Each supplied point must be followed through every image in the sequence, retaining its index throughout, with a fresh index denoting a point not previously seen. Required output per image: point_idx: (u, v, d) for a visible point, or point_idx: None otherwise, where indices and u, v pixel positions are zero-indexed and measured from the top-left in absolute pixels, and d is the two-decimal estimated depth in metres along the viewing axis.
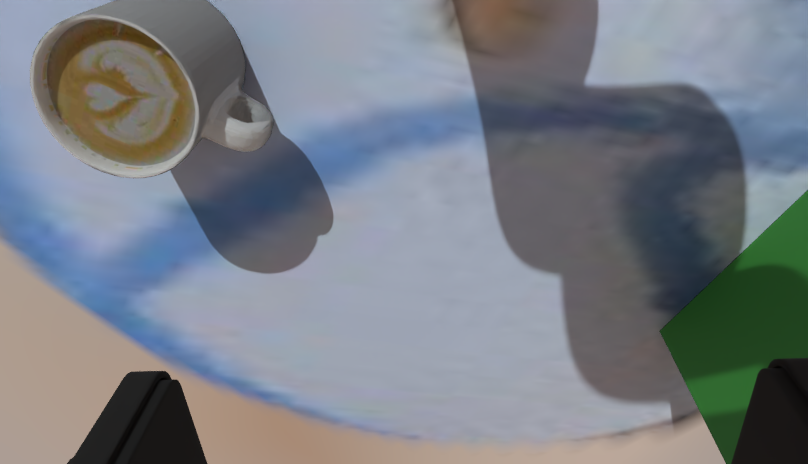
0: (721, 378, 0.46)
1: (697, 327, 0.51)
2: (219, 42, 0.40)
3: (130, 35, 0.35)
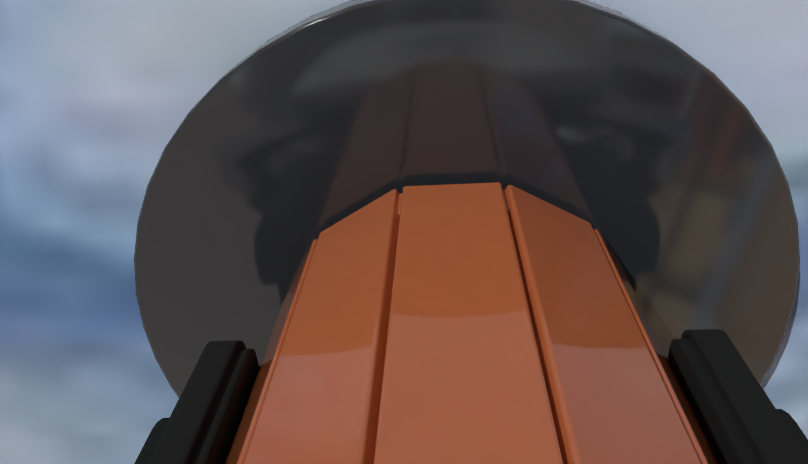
0: None
1: None
2: None
3: None
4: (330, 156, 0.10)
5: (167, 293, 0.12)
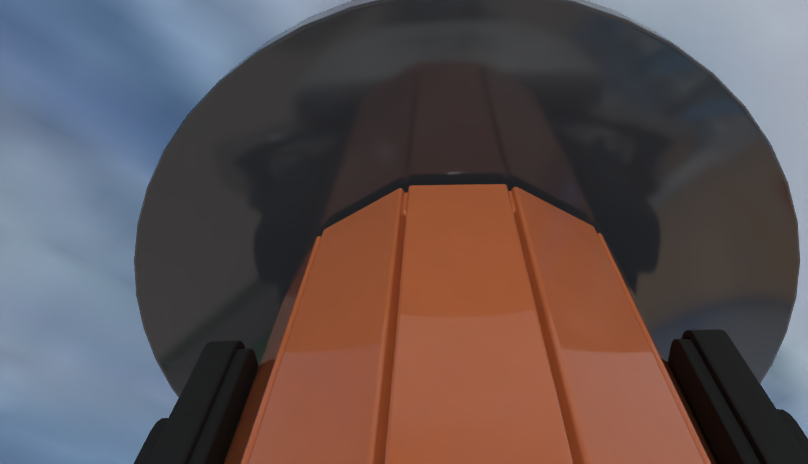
0: None
1: None
2: None
3: None
4: (492, 123, 0.10)
5: (222, 136, 0.10)
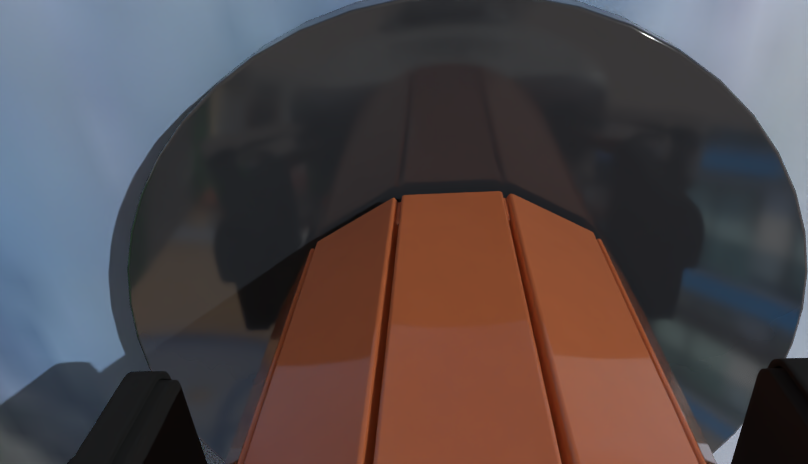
0: None
1: None
2: None
3: None
4: (674, 245, 0.11)
5: (521, 43, 0.09)
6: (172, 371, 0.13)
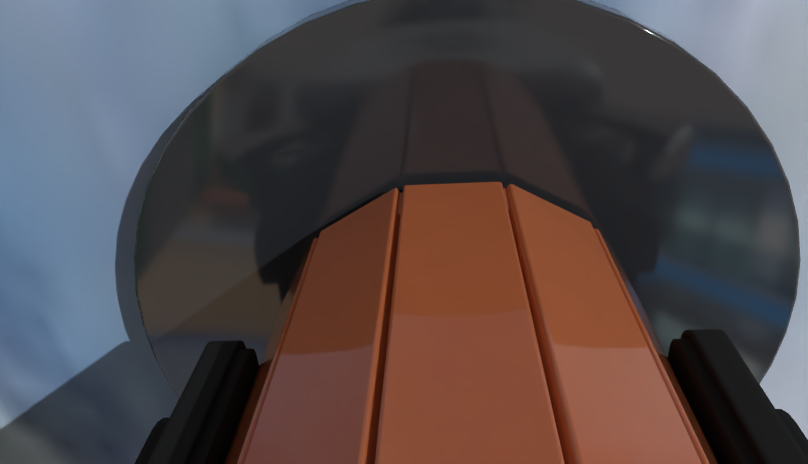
0: None
1: None
2: None
3: None
4: (670, 235, 0.11)
5: (520, 35, 0.09)
6: (177, 360, 0.13)
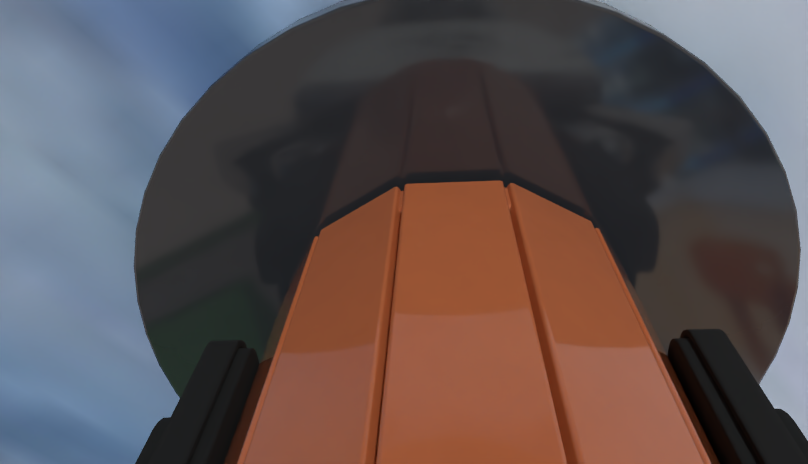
0: None
1: None
2: None
3: None
4: (552, 134, 0.10)
5: (278, 85, 0.10)
6: None
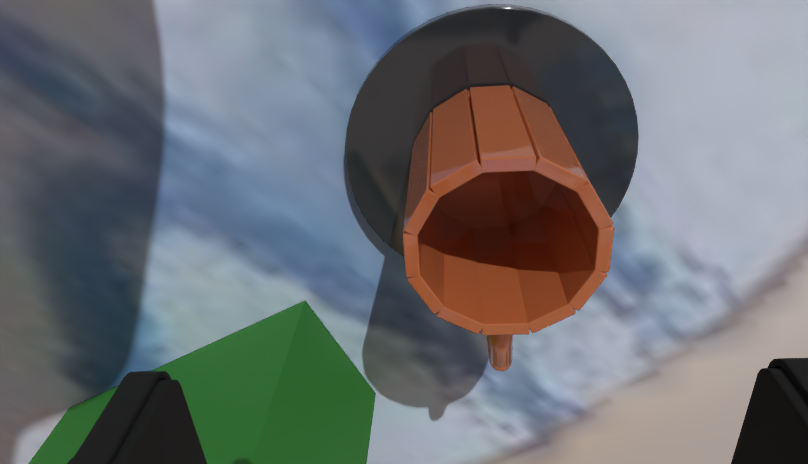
0: None
1: (83, 426, 0.34)
2: None
3: None
4: (530, 66, 0.25)
5: (420, 46, 0.25)
6: (402, 245, 0.30)
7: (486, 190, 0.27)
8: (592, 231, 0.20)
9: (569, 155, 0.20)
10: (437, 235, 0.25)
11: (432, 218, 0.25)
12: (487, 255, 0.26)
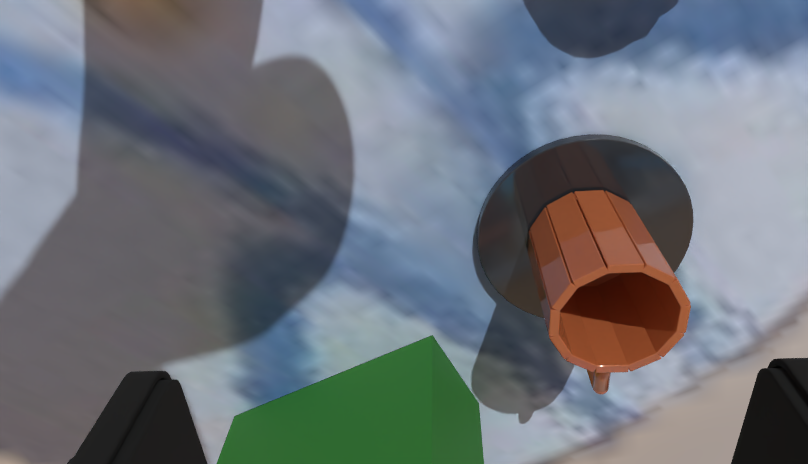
0: None
1: (258, 431, 0.44)
2: None
3: None
4: (618, 176, 0.35)
5: (541, 164, 0.35)
6: (513, 297, 0.40)
7: None
8: (674, 305, 0.30)
9: (659, 256, 0.30)
10: None
11: None
12: (587, 310, 0.36)
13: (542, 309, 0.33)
